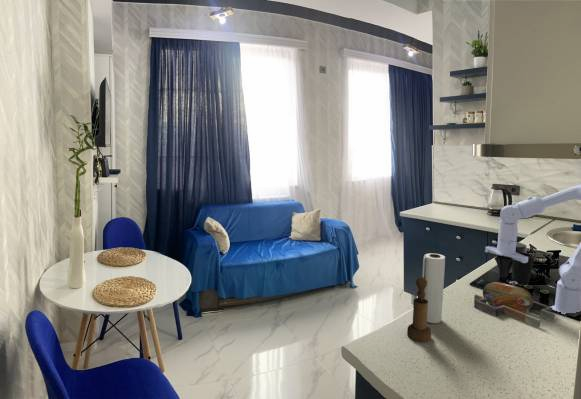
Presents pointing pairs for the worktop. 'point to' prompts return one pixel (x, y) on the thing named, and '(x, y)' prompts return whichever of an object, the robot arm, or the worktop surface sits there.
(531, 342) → the worktop surface
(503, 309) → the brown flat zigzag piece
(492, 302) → the tin
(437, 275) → the paper towel roll
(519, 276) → the cup
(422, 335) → the mortar and pestle
